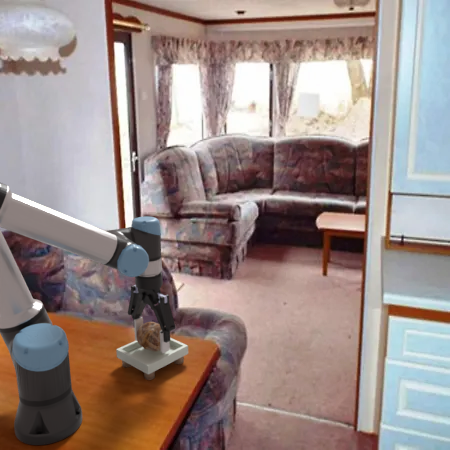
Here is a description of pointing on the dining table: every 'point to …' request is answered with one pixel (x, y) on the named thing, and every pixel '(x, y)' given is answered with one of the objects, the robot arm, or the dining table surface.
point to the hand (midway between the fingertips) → (152, 345)
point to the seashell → (149, 336)
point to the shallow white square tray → (151, 357)
